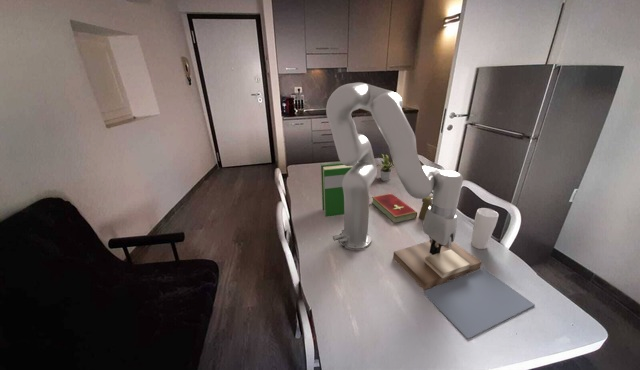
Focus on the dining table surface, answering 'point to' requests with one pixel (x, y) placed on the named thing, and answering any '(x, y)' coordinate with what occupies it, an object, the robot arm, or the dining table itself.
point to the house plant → (385, 169)
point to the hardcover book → (394, 207)
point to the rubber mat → (477, 302)
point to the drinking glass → (483, 227)
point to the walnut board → (423, 273)
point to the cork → (425, 207)
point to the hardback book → (333, 188)
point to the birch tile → (447, 263)
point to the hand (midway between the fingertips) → (434, 253)
